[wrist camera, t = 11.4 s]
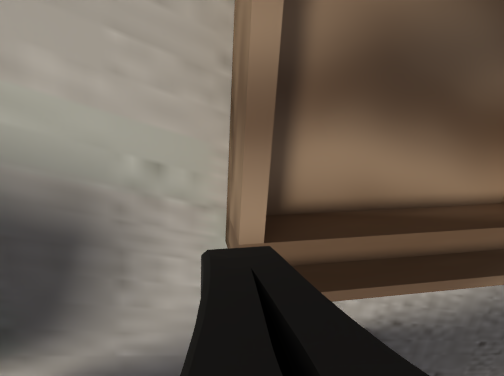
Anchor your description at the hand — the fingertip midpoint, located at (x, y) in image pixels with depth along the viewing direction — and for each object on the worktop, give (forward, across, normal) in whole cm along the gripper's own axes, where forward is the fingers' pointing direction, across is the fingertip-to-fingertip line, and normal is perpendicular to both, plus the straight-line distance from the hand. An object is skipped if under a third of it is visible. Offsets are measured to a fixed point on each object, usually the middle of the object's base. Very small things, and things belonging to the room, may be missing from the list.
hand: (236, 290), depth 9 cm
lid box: (+10, -9, -1) cm, 14 cm away
